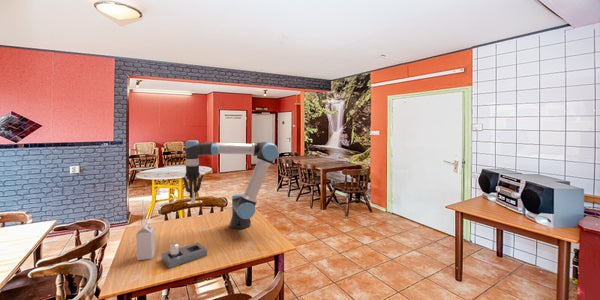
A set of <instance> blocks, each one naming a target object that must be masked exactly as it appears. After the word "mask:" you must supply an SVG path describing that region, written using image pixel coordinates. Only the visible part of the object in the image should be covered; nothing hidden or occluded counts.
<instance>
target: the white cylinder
mask: <svg viewBox="0 0 600 300" xmlns="http://www.w3.org/2000/svg"><path fill="white" fill-rule="evenodd" d="M179 248H180V244H179V242H178V243H177V242H174V243H171V244H169V251H170V258H174V257H178V256H179Z"/></svg>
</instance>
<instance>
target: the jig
mask: <svg viewBox="0 0 600 300" xmlns="http://www.w3.org/2000/svg"><path fill="white" fill-rule="evenodd" d="M207 256H208V249H207V248H205V247H204V246H203V245H201V243H199V242H196V243H193V244H189V245H186V246H182V247H179V256H178V257H174V258H170V250H169V251H166V252H163V253H161V261H162V262H163V263H164V264H165V265H166V266H167V268H168V269H172V268H175V267H178V266H181V265H184V264H187V263H190V262H192V261H193V262H194V261H195V260H198V259H200V258H201V259H202V258H204V257H207Z"/></svg>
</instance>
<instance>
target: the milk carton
mask: <svg viewBox="0 0 600 300" xmlns="http://www.w3.org/2000/svg"><path fill="white" fill-rule="evenodd" d="M135 238H136V257H137V258H136V260H137V261H145V260H153V258H154V256H155V254H156V240H155V239H156V236H155V227H154V226H153V225H151V224H150V223H148V221H145V223H144V224H143V225H142V227H140V229H139V230H138V231H137V232H136V237H135Z"/></svg>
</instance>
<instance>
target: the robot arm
mask: <svg viewBox="0 0 600 300" xmlns="http://www.w3.org/2000/svg"><path fill="white" fill-rule="evenodd" d="M184 148H185V165H186V166H185V174H184V176H182V177H181V179H182V181H183V184H184V188H185V191H186V192H187V193H189V198H190V201H191V204H195V203H196V198H197V196H198V195H197V193H198V191H200V189H201V186H202V181H203V179H204V175H203V174H201V173H200V166H199V165H200V156H218V155H219V154H225V155H226V154H228V155H251V156H252V157H256V160H257V162H256V164H255V166H254V169H253V171H252V174H251V176H250V179H249V180H248V184H247V186H246V188H245V192H244V193H238V194H233V195H232V196H231V197H232V198H231V209H232V210H231V213H232V214H231V218H230V222H229V228H231V229H233V228H234V229H235V230H243V229H242V228H244V229H247V228H246V227H248V226H250V225H251V226H252V222H251V218H252V217H253V216H254V215H255V213H256V205H257V202H258V201H257V197H258V194H259V192H260V189H261V187H262V184H263V182H264V179H265V177H266V175H267V172H268V170H269V167H270V166H272V165H273V163H274V162H275V160H276V159H278V157H279V155H280V152H279V147H278V146H277V145H276V144H274V143H273V142H267V141H263V142H262V141H261V142H252V143H238V142H237V143H235V142H212V141H211V142H209V141H204V142H202V143H200V142H199V140H197V139H196V140H194V139H193V140H191V139H189V140H186V141H185V147H184ZM187 179H188V181H187ZM251 226H250V227H251ZM248 228H249V227H248ZM234 229H233V230H234Z"/></svg>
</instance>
